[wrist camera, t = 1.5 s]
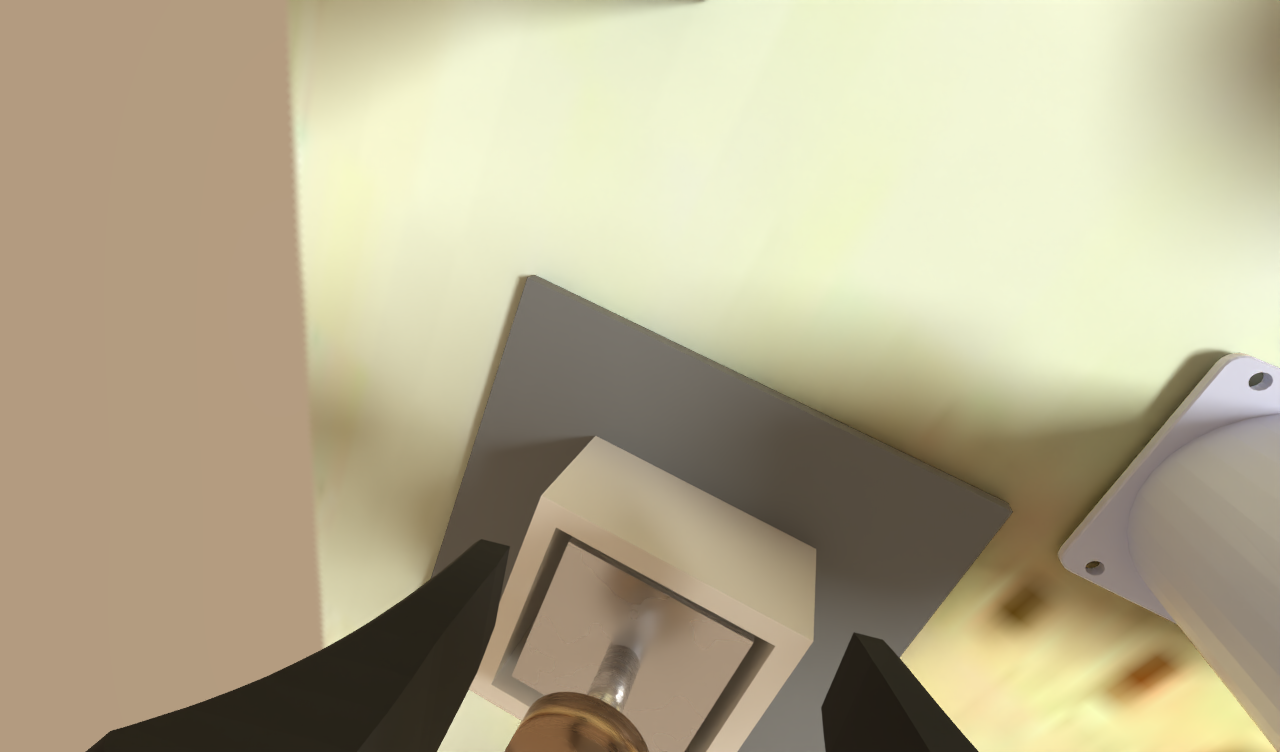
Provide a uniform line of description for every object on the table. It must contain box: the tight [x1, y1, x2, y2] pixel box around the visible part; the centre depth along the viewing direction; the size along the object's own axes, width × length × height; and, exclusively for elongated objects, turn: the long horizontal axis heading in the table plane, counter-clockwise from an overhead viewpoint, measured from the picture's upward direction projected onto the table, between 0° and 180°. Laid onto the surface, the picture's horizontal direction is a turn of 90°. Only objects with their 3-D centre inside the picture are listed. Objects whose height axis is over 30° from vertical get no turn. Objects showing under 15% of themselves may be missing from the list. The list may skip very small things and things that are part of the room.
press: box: [469, 436, 816, 752], centre depth 22 cm, size 9×9×5 cm
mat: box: [431, 275, 1013, 752], centre depth 25 cm, size 18×18×1 cm
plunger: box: [505, 537, 755, 752], centre depth 18 cm, size 6×6×5 cm
